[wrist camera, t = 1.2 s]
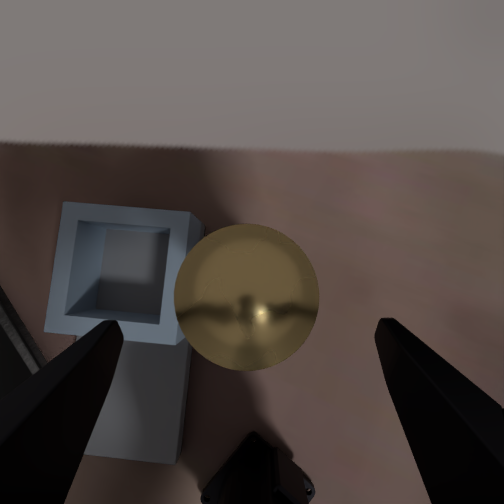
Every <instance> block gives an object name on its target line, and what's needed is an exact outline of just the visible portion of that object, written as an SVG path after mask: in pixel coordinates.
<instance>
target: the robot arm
mask: <svg viewBox="0 0 504 504" xmlns="http://www.w3.org/2000/svg"><path fill="white" fill-rule="evenodd" d="M123 342H124V335H123V333H122V330H121V328H120V326H119V323H118V321H116V320H104V321H102V322H100V323H99V324H98V325H97V326H95V327H94V328H93V329H91V330H90V331H89V332H87V333H86V334H85V335H84V336H82V337H81V338H80V339H78V340H77V341H76V342H75V343H73V344H72V345H71V346H69V347H68V348H67V349H65V350H64V351H63V352H62V353H60V354H59V355H58V356H56V357H55V358H54V359H53V360H51V361H50V362H49V363H47V364H46V365H45V366H43V367H42V368H41V369H40V370H38V371H37V372H36V373H34V374H33V375H32V376H31V377H29V378H28V379H27V380H25V381H24V382H23V383H21V384H20V385H19V386H18V387H16V388H15V389H14V390H12V391H11V392H10V393H9V394H7V395H6V396H5V397H3V398H2V399H1V400H0V504H64V502H65V499H66V497H67V494H68V492H69V489H70V487H71V484H72V482H73V479H74V477H75V474H76V472H77V469H78V467H79V464H80V462H81V459H82V457H83V454H84V452H85V449H86V447H87V444H88V442H89V439H90V437H91V434H92V432H93V429H94V427H95V424H96V422H97V419H98V417H99V414H100V412H101V409H102V407H103V404H104V402H105V399H106V397H107V394H108V392H109V389H110V387H111V384H112V381H113V377H114V374H115V370H116V367H117V363H118V360H119V356H120V353H121V349H122V346H123ZM375 343H376V347H377V351H378V354H379V358H380V362H381V366H382V370H383V374H384V377H385V381H386V384H387V387H388V390H389V393H390V396H391V398H392V401H393V403H394V406H395V409H396V411H397V414H398V417H399V419H400V422H401V425H402V427H403V430H404V432H405V435H406V438H407V440H408V443H409V446H410V448H411V451H412V453H413V456H414V459H415V461H416V464H417V467H418V469H419V472H420V475H421V477H422V480H423V482H424V485H425V488H426V490H427V493H428V496H429V498H430V501H431V503H432V504H504V408H502V407H501V405H500V404H498V403H497V402H496V401H495V400H493V399H492V398H491V397H490V396H489V395H487V394H486V393H485V392H484V391H482V390H481V389H480V388H479V387H478V386H476V385H475V384H474V383H473V382H471V381H470V380H469V379H468V378H467V377H465V376H464V375H463V374H462V373H460V372H459V371H458V370H457V369H456V368H454V367H453V366H452V365H451V364H449V363H448V362H447V361H446V360H445V359H443V358H442V357H441V356H440V355H438V354H437V353H436V352H435V351H434V350H432V349H431V348H430V347H429V346H427V345H426V344H425V343H424V342H423V341H421V340H420V339H419V338H418V337H416V336H415V335H414V334H413V333H412V332H410V331H409V330H408V329H407V328H405V327H404V326H403V325H402V324H400V323H399V322H398V321H397V320H396V319H394V318H381V319H380V320H379V322H378V325H377V328H376V331H375ZM252 438H255V439H256V441H255V442H252V441H251V439H252ZM307 488H310V489H311V490H310V491H306V489H307ZM205 495H208V496H210V498H206V497H205ZM314 495H315V489H314V485H313V483H312V482H311V481H310V480H308V479H307V478H306V477H305V476H304V475H303V474H302V470H301V468H300V467H298V466H297V465H296V464H295V463H294V462H293V461H292V460H291V459H290V458H288V457H287V456H286V455H285V454H284V453H283V452H282V451H281V450H280V449H279V448H276V447H272V446H271V445H270V444H269V443H268V442H266V441H265V440H264V439H263V438H262V437H261V436H260V435H259V434H258V433H256V432H250V433H249V434H248V435H247V437H246V438H245V439H244V440H243V442H242V443H241V444H240V445H239V446H238V448H237V449H236V450H235V451H234V453H233V454H232V455H231V456H230V458H229V459H228V460H227V461H226V462H225V464H224V465H223V466H222V467H221V469H220V470H219V471H218V472H217V473H216V475H215V476H214V477H213V478H212V480H211V481H210V482H209V483H208V485H207V486H206V487H205V488H204V489H203V491H202V494H201V502H202V504H309V502H310V501H311V499H312V498H313V497H314Z"/></svg>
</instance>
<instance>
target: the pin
mask: <svg viewBox="0 0 504 504" xmlns="http://www.w3.org/2000/svg"><path fill="white" fill-rule="evenodd" d="M174 307H175V313H176V317H177V321H178V323H179V326H180V328H181V330H182V332H183V334H184V336H185V338H186V339H187V340H188V342H189V343H190V344H191V346H192V347H193V348H194V349H195V350H196V351H197V352H198V353H200V354H201V355H202V356H203V357H205V358H206V359H208V360H209V361H211V362H213V363H215V364H217V365H219V366H222V367H225V368H228V369H232V370H240V371H254V370H261V369H265V368H268V367H271V366H274V365H276V364H278V363H280V362H282V361H284V360H285V359H287V358H288V357H290V356H291V355H292V354H293V353H295V352H296V351H297V350H298V349H299V348H300V346H301V345H302V344H303V343H304V342H305V340H306V339H307V337H308V336H309V334H310V332H311V330H312V328H313V326H314V323H315V320H316V317H317V313H318V307H319V288H318V282H317V278H316V275H315V271H314V269H313V267H312V265H311V263H310V261H309V259H308V258H307V256H306V254H305V253H304V252H303V251H302V249H301V248H300V247H299V246H298V245H297V244H296V243H295V242H294V241H293V240H291V239H290V238H288V237H287V236H286V235H284V234H282V233H280V232H279V231H277V230H274V229H272V228H269V227H266V226H261V225H256V224H237V225H231V226H227V227H224V228H221V229H219V230H216V231H214V232H212V233H211V234H209V235H207V236H206V237H204V238H203V239H202V240H200V241H199V242H198V243H197V244H196V245H195V246H194V247H193V248H192V249H191V250H190V252H189V253H188V254H187V256H186V257H185V259H184V261H183V263H182V264H181V267H180V269H179V271H178V274H177V278H176V281H175V288H174Z"/></svg>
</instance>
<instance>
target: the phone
mask: <svg viewBox="0 0 504 504" xmlns="http://www.w3.org/2000/svg"><path fill="white" fill-rule="evenodd" d="M46 364H47V361H46V360H45V358H44V356H43V355H42V353H41V351H40V350H39V348H38V347H37V345H36V343H35V342H34V340H33V338H32V337H31V335H30V334H29V332H28V330H27V329H26V327H25V325H24V324H23V322H22V320H21V319H20V317H19V316H18V314H17V312H16V311H15V309H14V307H13V306H12V304H11V302H10V301H9V299H8V298H7V296H6V294H5V293H4V291H3V289H2V288H1V286H0V400H1V399H2V398H3V397H5V396H6V395H7V394H9V393H10V392H11V391H12V390H14V389H15V388H16V387H18V386H19V385H20V384H21V383H23V382H24V381H25V380H27V379H28V378H29V377H31V376H32V375H33V374H34V373H36V372H37V371H38V370H40V369H41V368H42V367H43V366H45V365H46Z"/></svg>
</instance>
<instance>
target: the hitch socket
mask: <svg viewBox="0 0 504 504" xmlns="http://www.w3.org/2000/svg"><path fill="white" fill-rule="evenodd" d="M204 231H205V225H204V224H203V223H202V222H201V221H200V220H199V219H198V218H196V217H195V216H194V215H193V214H192V213H191V212H186V211H174V210H162V209H150V208H138V207H126V206H114V205H102V204H90V203H78V202H66V201H63V207H62V214H61V220H60V227H59V234H58V240H57V247H56V254H55V260H54V267H53V274H52V280H51V287H50V294H49V300H48V307H47V313H46V320H45V327H44V332H49V333H59V334H69V335H77V338H76V341H77V340H78V339H80V338H81V337H82V336H84V335H85V334H86V333H87V332H89V331H90V330H91V329H93V328H94V327H95V326H97V325H98V324H99V323H100V322H102V321H104V320H116V321H118V323H119V326H120V328H121V330H122V333H123V335H124V342H123V346H122V349H121V353H120V356H119V360H118V363H117V367H116V370H115V374H114V377H113V381H112V384H111V387H110V389H109V392H108V394H107V397H106V399H105V402H104V404H103V407H102V409H101V412H100V414H99V417H98V419H97V422H96V424H95V427H94V429H93V432H92V434H91V437H90V439H89V442H88V444H87V447H86V449H85V452H84V454H85V455H94V456H102V457H110V458H119V459H127V460H136V461H144V462H153V463H161V464H170V465H175V464H176V462H177V460H178V458H179V456H180V453H181V447H182V438H183V428H184V419H185V410H186V400H187V391H188V381H189V372H190V362H191V353H192V346H191V344H190V343H189V342H188V340H187V339H186V338H185V336H184V334H183V332H182V330H181V328H180V326H179V323H178V321H177V317H176V313H175V307H174V288H175V281H176V278H177V274H178V271H179V269H180V267H181V264H182V263H183V261H184V259H185V257H186V256H187V254H188V253H189V252H190V250H191V249H192V248H193V247H194V246H195V245H196V244H197V243H198V242H199V241H200V240H202V239H203V238H204Z"/></svg>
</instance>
